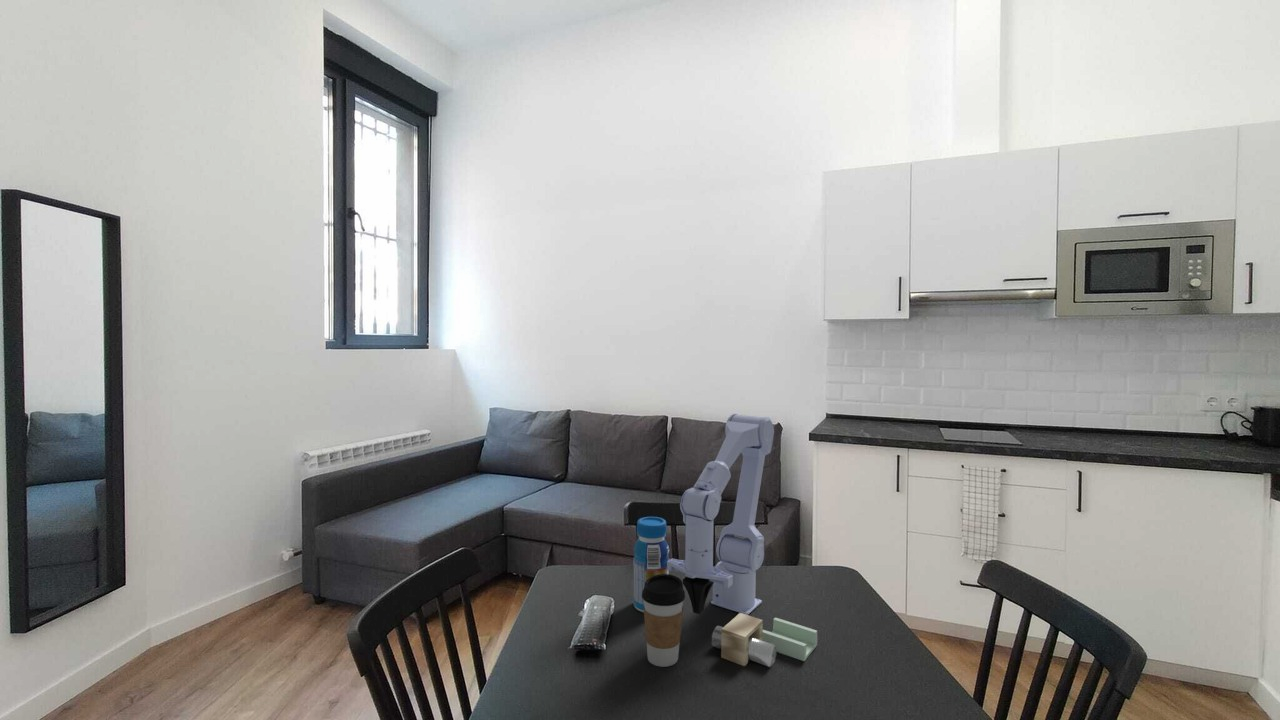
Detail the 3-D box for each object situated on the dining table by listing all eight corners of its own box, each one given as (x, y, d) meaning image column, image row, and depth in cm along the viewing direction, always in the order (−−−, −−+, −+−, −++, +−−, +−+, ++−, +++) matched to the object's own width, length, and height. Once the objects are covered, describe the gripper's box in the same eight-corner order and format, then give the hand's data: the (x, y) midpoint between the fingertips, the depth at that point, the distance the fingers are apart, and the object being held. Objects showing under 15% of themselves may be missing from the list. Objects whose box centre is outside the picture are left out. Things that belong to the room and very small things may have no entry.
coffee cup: (689, 650, 114) (690, 576, 113) (678, 674, 106) (678, 595, 105) (649, 643, 116) (649, 570, 116) (635, 665, 108) (635, 588, 108)
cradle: (760, 646, 115) (761, 631, 115) (775, 631, 121) (775, 617, 121) (804, 661, 110) (804, 646, 110) (817, 645, 116) (817, 630, 116)
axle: (712, 650, 115) (710, 634, 114) (722, 637, 118) (719, 621, 117) (769, 672, 108) (767, 654, 107) (777, 657, 111) (775, 640, 110)
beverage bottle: (625, 608, 131) (626, 522, 130) (645, 594, 138) (646, 512, 137) (657, 618, 126) (657, 529, 125) (676, 603, 133) (676, 519, 132)
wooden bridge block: (721, 657, 111) (721, 628, 111) (739, 639, 118) (740, 612, 117) (744, 666, 108) (745, 637, 108) (762, 647, 115) (762, 620, 114)
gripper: (659, 544, 119) (658, 608, 120) (721, 561, 110) (720, 630, 111) (677, 535, 125) (676, 596, 125) (737, 550, 116) (736, 616, 117)
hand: (698, 611), depth 119 cm, fingers closed
